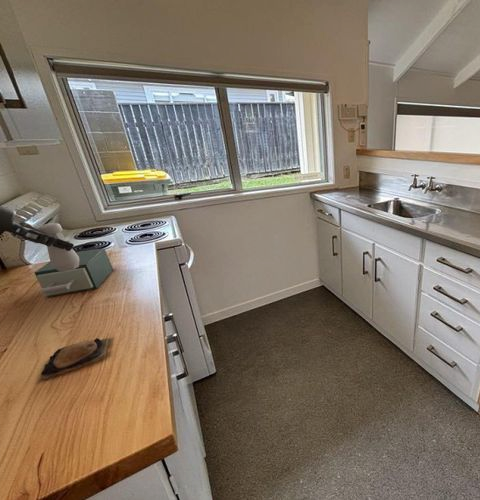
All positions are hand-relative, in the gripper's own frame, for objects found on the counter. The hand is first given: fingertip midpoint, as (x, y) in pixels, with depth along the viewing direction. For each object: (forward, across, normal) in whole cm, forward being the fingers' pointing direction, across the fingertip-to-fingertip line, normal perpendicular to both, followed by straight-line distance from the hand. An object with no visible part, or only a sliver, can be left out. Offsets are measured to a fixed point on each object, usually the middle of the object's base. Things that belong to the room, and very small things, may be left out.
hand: (69, 246), depth 79 cm
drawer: (+11, +15, +12) cm, 22 cm away
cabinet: (+14, +18, +11) cm, 26 cm away
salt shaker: (+3, 0, +6) cm, 6 cm away
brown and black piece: (+5, -28, +20) cm, 35 cm away
